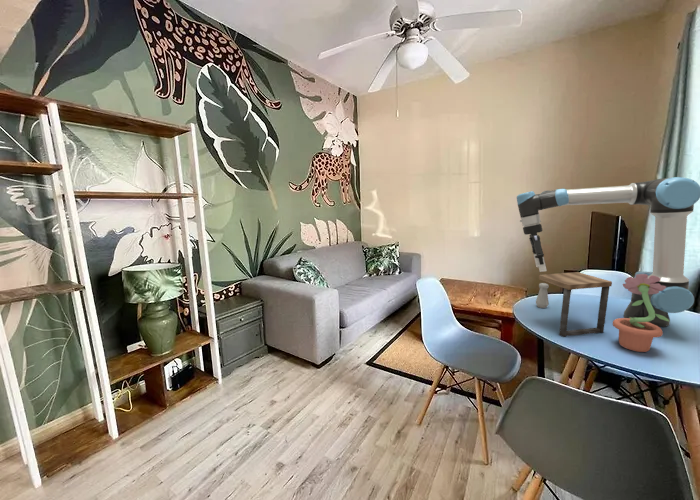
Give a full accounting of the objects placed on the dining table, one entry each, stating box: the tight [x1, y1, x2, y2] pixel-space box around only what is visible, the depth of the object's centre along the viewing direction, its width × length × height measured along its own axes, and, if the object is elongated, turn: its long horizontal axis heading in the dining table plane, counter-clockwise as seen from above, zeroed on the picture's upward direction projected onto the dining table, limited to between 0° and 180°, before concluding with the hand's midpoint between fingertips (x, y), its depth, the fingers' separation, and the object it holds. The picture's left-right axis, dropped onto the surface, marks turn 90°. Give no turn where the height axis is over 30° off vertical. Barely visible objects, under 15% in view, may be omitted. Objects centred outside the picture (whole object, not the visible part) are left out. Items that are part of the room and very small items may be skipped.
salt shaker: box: [535, 282, 550, 309], centre depth 155 cm, size 6×6×13 cm
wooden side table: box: [538, 271, 613, 338], centre depth 131 cm, size 20×16×23 cm
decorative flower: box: [612, 274, 671, 353], centre depth 111 cm, size 15×14×30 cm
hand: (541, 269), depth 138 cm, fingers open, 13 cm apart
